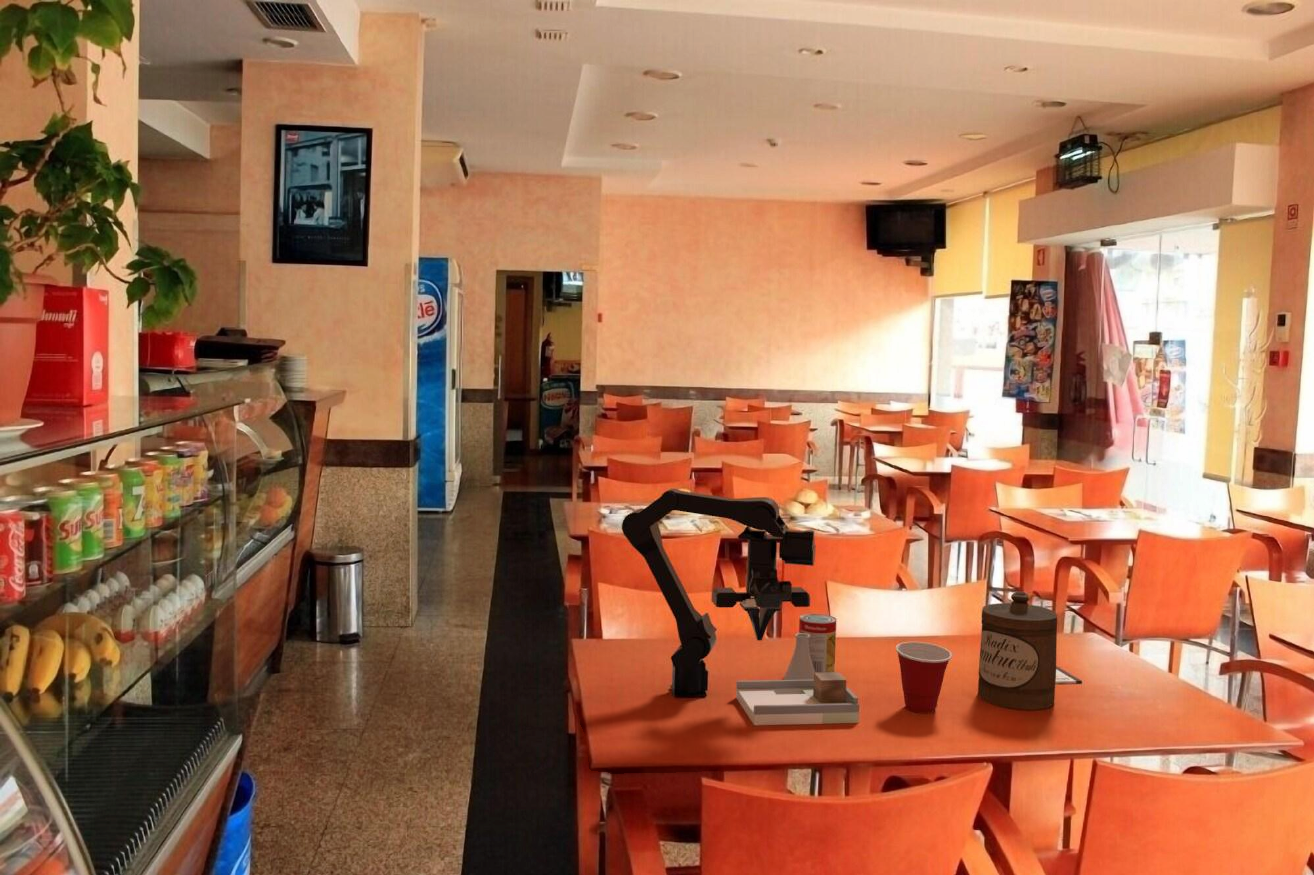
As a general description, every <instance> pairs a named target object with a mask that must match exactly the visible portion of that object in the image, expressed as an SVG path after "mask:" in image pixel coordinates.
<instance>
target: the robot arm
mask: <svg viewBox="0 0 1314 875" xmlns="http://www.w3.org/2000/svg"><path fill="white" fill-rule="evenodd" d="M672 511H678V512H683V513H689V514H690V513H691V514H695V515H696V514H697V515H702V516H709V517H715V518H722V519H729V520H731V521H734V522H737V523H739V524H740V525H743V526H745V528H744V530H742V531H741V533H739V534H738V535H737V538H738V540H747V558H746V560H747V562H746V567H745V568H746V584H745V592H744V591H743V592H739V591H735V590H734V589H733V588H732V587H714V588H713V590H712V591H711V602H712V604H713V605H714V606H715V607H716V608H733V607H735V606H736V605H737V603H739V606H740V607H741V608H742V610H743V611H744V612H746V613H747V615H748V617H749V620H750V622H751V626H752V630H753V631H754V635H755V637H756V638H755V639H756V641H758V642H759V641H762V640H763V638H764V635H765V633H766V630H767V627H768V625H769V623H770V621H771V619H772V617H773V616H774V614H776V613H777V612H780V611H781V610H782V608H781V606H782V603H783V602H785V603H787V602H790V603H791V604H792V605H793V607H795V608H808V607H811V596H810V593H808V591H806V590H805V589H804V588H803V587H800V586H795V587H793V586H792V585H793V584H792V582H791V581H790V580H781V581H779V580H778V579H779V578H778V569H777V552H778V556H779V559H781V561H783V562H784V564H785V565H795V566H797V565H798V566H812V567H814V566H815V561H816V551H817V550H816V547H817V546H816V545H815V544H816V543H815V531H814V530H810V529H806V530H795V529H789V527H788V525H787V524H786V522H785V521H784V520H783V517H781V515H780V507H779V505H778V504H777V502H776V501H775V499H773V498H771V497H766V496H765V497H764V496H759V497H757V496H756V497H744V498H743V497H742V498H730V497H724V496H718V495H717V496H716V495H711V494H704V493H698V492H697V493H696V492H692V491H684V490H679V489H677V488H670V489H667V490H666V491H665V492H663V493H662V494H661V496H660V497H658V498H657V499H656V500H654V501H653V502H652V503H649V505H647V506H646V507H645V508H637V509H635V510H633V511H631V512H630V513H629V514H627V515H625V517H624V518H623V520H622V524H621V531H622V533H623V535H624V536H625V538H626V539H627V541H628V543H630V545H631V546H632V547H633V549H635V550H636V551H637V553H639V554H640V555H641V556H642V557H643V558H644V561H645V562H646V564H647V566H648V568H649V570H650V572H651V574H652V575H653V577H654V580H655V583H657V586H658V588H659V590H660V592H661V593H662V595H663V598H664V600H665V602H666V604H667V605H668V607H669V609H670V611H671V613H672V615H673V617H674V620H675V622H676V629H677V634H678V638H679V642H680V645H679V646H678V647H677V649H676V650H675V651H674V652H673V654H672V655H671V656H670V660H671V663H672V666H671V668H672V675H671V681H672V682H671V685H670V686H669V688H670V690H671V692H672V694H673V696H674V697H675V698H676V697H677V698H685V697H686V698H689V697H698V698H699V697H707V696H708V695H707V694H708V693H707V691H708V687H709V686H708V684H709V670H708V669H707V668H706V667H707V665H706V663H705V660H703V659H706V657H707V656H708V655H709V654H710V652H711V651H712V649H713V648H714V647H715V645H716V643H717V635H716V632H717V630H718V629H717V627H715V626H714V625H713V623H712V620H711V617H710V615H709V613H708V612H706V613H704V614H702V615H701V613H699V611H698V610H697V609H696V608H695V607H694V604H693V603H692V601H691V599H690V597H689V595H688V593H687V591H686V589H685V587H684V585H683V584H682V581H681V580H680V577H679V576H678V573H677V572H676V569H675V567H674V565H673V564H672V561H671V560H670V557H669V556H668V554H667V552H666V550H665V548H664V546H663V539H662V535H661V534H662V533H661V529H660V526H659V523H658V522H660V521H661V520H662V519H664V518H665V517H666V516H668V515H669V514H670V513H671V512H672ZM778 542H779V545H778ZM778 547H779V550H777V549H778Z"/></svg>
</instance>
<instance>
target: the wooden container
mask: <svg viewBox="0 0 1314 875" xmlns="http://www.w3.org/2000/svg"><path fill="white" fill-rule="evenodd" d="M1010 598H1011V601H1012V602H1011V603H1010V602H1006V603H1005V602H1003V603H990V604H986V605H984V606H982V609H981V632H980V636H981V637H980V649H979V660H978V682H977V683H978V687H977V695H978V697H979V698H980V699H982V700H983V701H984V702H986V703H988V702H989V703H988V704H991V705H994V706H997V705H998V706H997V707H1002V708H1005V707H1006V709H1012V710H1022V711H1023V710H1025V711H1028V710H1029V711H1034V710H1035V711H1037V710H1043V709H1047V708H1051V707H1053V705H1055V699H1056V696H1055V695H1056V684H1055V682H1056V666H1057V643H1058V642H1057V641H1058V640H1057V639H1058V638H1057V637H1058V634H1057V633H1058V613H1057V612H1056V611H1054V610H1052V609H1050V608H1046V607H1043V606H1038V605H1035V604H1034V605H1033V604H1029V603H1028V602H1029V600H1030V595H1029V594H1028V593H1026V592H1024V591H1022V590H1021V591H1020V590H1019V591H1015V592H1014V593H1012V594H1011V596H1010Z"/></svg>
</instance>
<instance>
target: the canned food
mask: <svg viewBox="0 0 1314 875" xmlns="http://www.w3.org/2000/svg"><path fill="white" fill-rule="evenodd" d="M837 621H838V620H837V618H836V617H835V616H832V615H829V614H822V613H807V614H806V613H805V614H802V615H800V616H799V621H798V622H799V623H798V633H805V634H809V635H810V638H809V652H810V656H811V660H812V663H813V667H814V670H815V673H827V672H836V671H835V668H836V666H835V664H836V663H835V662H836V645H837V644H836V640H837Z"/></svg>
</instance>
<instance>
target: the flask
mask: <svg viewBox="0 0 1314 875" xmlns="http://www.w3.org/2000/svg"><path fill="white" fill-rule="evenodd" d="M794 637H795V647H794V651H793V654H792V657H791V659H790V662H789V664H788V667H787V670H786V671H785V675H784V677H783V680H806V679H814V673H815V670H814V667H813V663H812V660H811V656H810V652H809V638H810V635H809V634H805V633H799V632H798V633H795V634H794Z"/></svg>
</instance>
